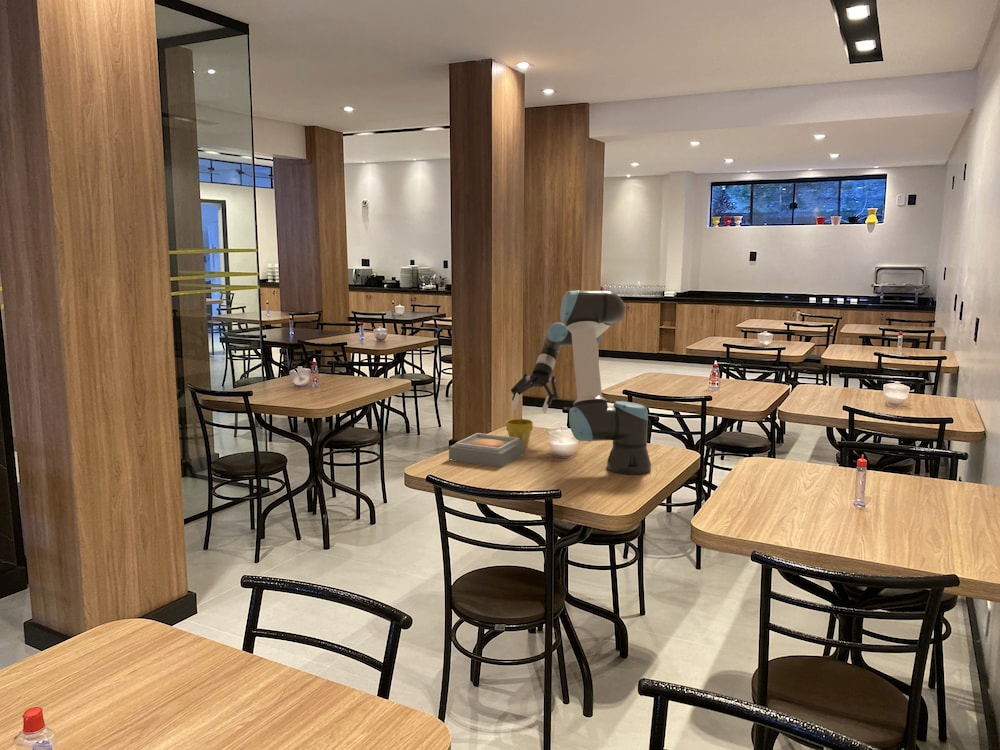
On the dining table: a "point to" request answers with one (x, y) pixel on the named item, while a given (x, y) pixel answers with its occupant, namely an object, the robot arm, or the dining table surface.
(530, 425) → the plant pot
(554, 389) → the robot arm
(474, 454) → the grey square tray
